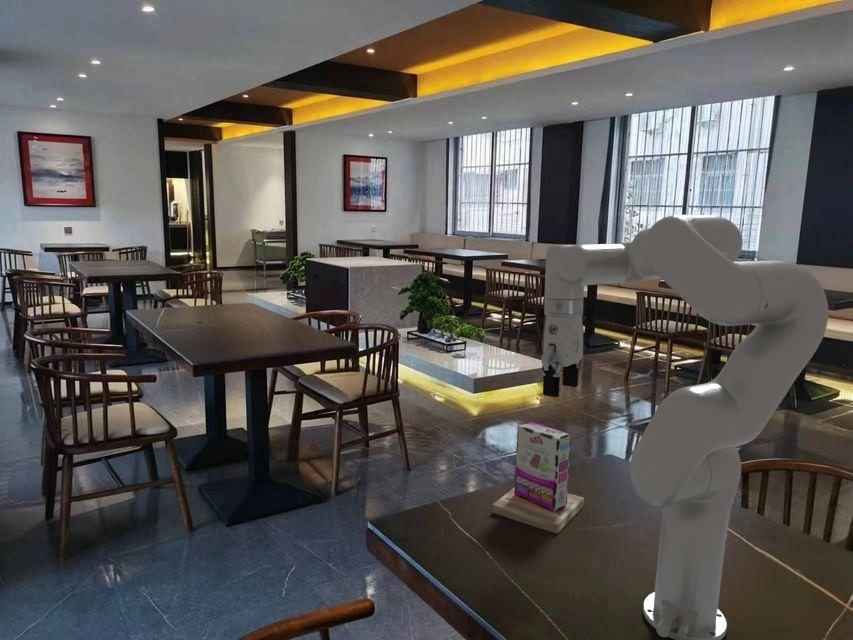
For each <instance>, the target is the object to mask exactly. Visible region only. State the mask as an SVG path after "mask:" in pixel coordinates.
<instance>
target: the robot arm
mask: <svg viewBox="0 0 853 640" xmlns="http://www.w3.org/2000/svg"><path fill="white" fill-rule="evenodd" d="M743 240H744V239H743V237H742V233H741V230H740V229H739V228H738V226H737V225H736V224H734V222H733V221H732V220H729V219H727V218H725V217H721V216H718V215H708V214H707V215H705V214H702V215H701V214H673V215H668V216H666V217H663V218H661V219H659V220H657V221H656V222H655V223H653V224H652V226H651V227H649V228H644V229H643V230H640V231H639V232H638V233H637V234H636V235H635V236H634V238H633V239H632V241H631V242H626V243H625V242H624V243H600V244H597V243H593V244H591V243H590V244H586V243H585V244H584V243H583V244H552V245H550V246H548V248H547V249H546V252H545V273H544V274H545V277H544V279H545V280H544V313H543V314H544V315H546V317H545V325H544V333H543V334H544V335H543V347H542V348H543V350H542V353H543V354H542V356H541V364H542V366H541V369H542V376H543V378H542V379H543V380H542V381H543V382H542V395H543V396H544V397H545V396H547V397H552V398H558V397H559V396H560V383H561V384H562V386H564V387H570V388H571V387H572V388H578V386H579V367H580V361H581V360H582V359H583V357H584V326H583V325H584V324H583V316H584V315H583V314H584V292H585V286H594V285H615V284H627V283H634V282H642V281H655V280H662V281H664V282H665V283H666V284H667V285H668V287H670V288H671V289H672V290H673V291H674V292H675V293H677V295H678V296H680V298H681V299H682V300H683V301H685V303H686V304H687V305H689V307H691V308H692V310H694V311H695V312H696V313H697V314H698V315H699V316H700V317H702V318H703V319H705V320H706V321H708V322H711V323H712V324H716V325H719V326H723V327H725V326H726V327H727V326H728V327H733V326H734V327H735V326H746V325H756V326H755V327H754V329H753V330H752V331H751V332H750V333H749V334H748V335H746V337H744V338H743V340H742V341H740V343H738V345H736V347H735V348H734V350H732V352H731V354H730V356H729V358H728V360H727V361H726V363H725V365H724V366H723V368H722V369H721V371H720V372H719V373H718V374H717V376H716V377H715V378H714V379H712V380H711V381H708V382H706V383H701V384H694V385H689V386H685V387H684V386H683V387H681V388H678V389H676V390H674V391H673V392H670V394H668V395H667V396H666V397H665V398H664V399H663V400H662V401H661V402H660V403H659V405H658V406H657V408H656V410H655V411H654V413H653V415H652V417H651V419H650V421H649V422H648V425H647V426H646V428H645V430H644V432H643V434H642V435H641V437H640V439H639V441H638V443H637V445H636V446H635V448H634V451H633V453H632V456H631V459H630V463H629V478H630V479H629V480H630V483H631V485H632V488H633V490H634V491H635V494H637V496H638V497H639V498H641V499H642V500H643V501H644V502H646V503H647V504H650V505H652V506H656V507H663V510H662V514H661V515H662V516H661V525H660V532H659V543H658V545H659V546H658V554H657V565H656V574H655V575H656V576H655V585H654V592H652V593H650V594H648V596H646V597H645V599H644V601H643V604H642V605H643V606H642V612H643V615H644V618H645V619H646V621H647V622H648V623H649V624H650V625H651V626H652V627H653V628H654V629H655V630H656V633H657V634H658V635H659V636H660V637H662V638H669V639H672V640H722V639H724V637H725V636H726V633H727V629H728V628H727V627H728V623H727V619H726V617H725V616H724V614H723V613H722V611H720V609H719V601H720V594H721V592H720V591H721V583H722V576H723V567H724V566H723V565H724V557H725V551H726V549H725V548H726V540H727V534H728V527H729V520H730V514H731V509H732V505H733V502H734V499H735V496H736V494H737V490H738V487H739V483H740V480H741V475H742V463H741V458H740V455H739V452H738V450H737V449H736V447H740V446H743V445H746V444H748V443H751V442H752V441H754V440H755V439H756V438H757V437H758V436H760V433H762V431H763V429H764V428H765V427H766V425H767V423H768V422H769V420H770V419H771V418H772V416H773V414H774V413H775V411H777V408H778V407H779V405H781V403H782V401H783V400H784V398H785V396H787V394H788V392H789V391H790V389H791V387H792V385H794V382H795V381H796V379H797V378H798V377H799V375H800V374H801V373H802V371H803V370H804V368H805V367H806V365H807V364H808V363H809V362H810V361H811V359H812V357H813V356H814V355H815V353H816V351H817V350H818V348H819V346H820V344H821V342H822V341H823V338H824V336H825V333H826V331H827V330H826V329H827V328H828V327H827V326H828V322H829V304H828V299H827V296H826V295H827V294H826V293H825V291H824V287H823V286H822V284H821V282H820V281H819V279H818V278H817V277H816V276H815V274H813V273H812V272H811V271H810V270H808V269H807V268H806V267H804V266H802V265H799V264H798V263H797V264H796V263H794V262H790V261H784V260H750V261H737V259H738V258H739V257H740V255H741V252H742V249H743V245H744V242H743ZM561 368H562V381H560V380H561V377H560V376H559V374H560V370H561Z"/></svg>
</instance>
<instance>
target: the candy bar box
mask: <svg viewBox="0 0 853 640" xmlns="http://www.w3.org/2000/svg"><path fill="white" fill-rule="evenodd" d="M516 437H517V438H516V452H515V454H516V456H515V475H514V487H515V492H514V494H515V495H516V496H519V497H521V498H523V499H525V500H528V501H530V502H532V503H535V504H537V505H539V506H542V507H544V508H546V509H549V510H551V511H553V512H555V511H557V510H559V509H561V508H563V507H565V506H566V505H567V493H568V491H569V489H568V488H569V477H570V476H569V475H570V473H569V472H570V461H571V444H572V443H571V442H572V433H569V432H565V431H562V430H559V429H557V428H556V429H555V428H553V427H549V426H547V425H543V424H541V423H536V422H533V421H528V422H525V423H522V424H518V425H517V435H516Z"/></svg>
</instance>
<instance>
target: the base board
mask: <svg viewBox="0 0 853 640" xmlns="http://www.w3.org/2000/svg"><path fill="white" fill-rule="evenodd" d="M514 492H515V486H514V487H513V488H511V489H510V490H509V491H508V492H506V493H505V494H504V495H503V496H501V497H500V498H499V499H498V500H496V501H495V502H494V503H492V513H493V514H496V515H498V516H501V517H505V518H507V519H509V520H510V519H511V520H514V521H517V522H520V523H523V524H526V525H529V526H532V527H535V528H538V529H541V530H544V531H548V532H550V533H553V534H556V535H558V534H559V533H560V532H561V531H562V529H564V527H565V526H566V525H568V523H569V522H570V521H571V520H572V519H573V518H574V517H575V516H576V514H578V513H579V512H580V511H581V509H582V508H583V507H584V506H585V505H584V504H585V498H584V497H583V496H579V495H575V494H572V493H567V505H566V506H565V507H563V508H561V509H559V510H557V511H555V512H553V511H551V510H549V509H546V508H544V507H542V506H539V505H537V504H535V503H532V502H530V501H528V500H525V499H523V498H521V497H519V496H516V495H515V494H514Z"/></svg>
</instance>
